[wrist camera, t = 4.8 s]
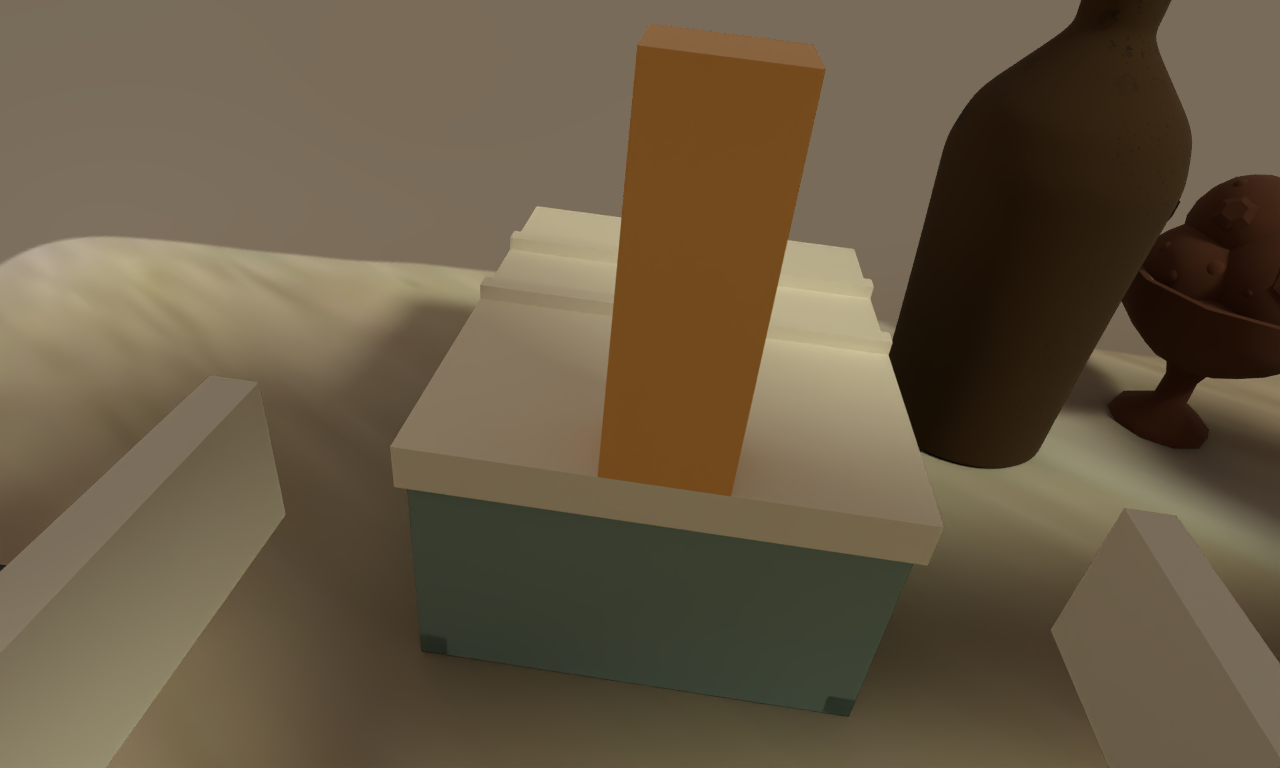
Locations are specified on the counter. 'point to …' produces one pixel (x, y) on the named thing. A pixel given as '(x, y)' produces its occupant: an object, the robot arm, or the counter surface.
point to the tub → (648, 602)
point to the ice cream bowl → (1207, 306)
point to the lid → (686, 337)
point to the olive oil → (1038, 233)
